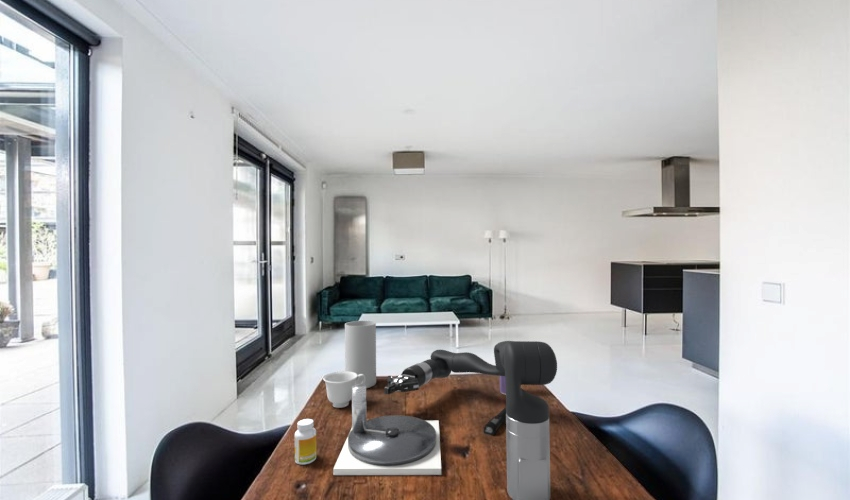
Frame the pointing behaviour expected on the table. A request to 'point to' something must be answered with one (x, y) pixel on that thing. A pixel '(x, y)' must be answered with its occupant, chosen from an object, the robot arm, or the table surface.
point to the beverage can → (502, 385)
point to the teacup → (341, 387)
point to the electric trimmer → (495, 423)
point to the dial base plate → (420, 467)
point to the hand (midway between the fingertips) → (386, 391)
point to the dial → (387, 435)
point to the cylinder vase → (361, 350)
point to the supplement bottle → (305, 442)
